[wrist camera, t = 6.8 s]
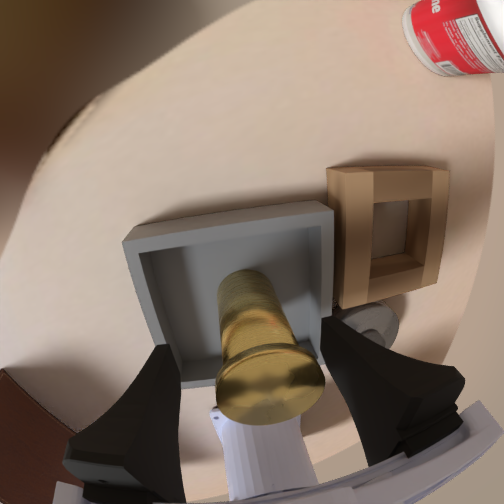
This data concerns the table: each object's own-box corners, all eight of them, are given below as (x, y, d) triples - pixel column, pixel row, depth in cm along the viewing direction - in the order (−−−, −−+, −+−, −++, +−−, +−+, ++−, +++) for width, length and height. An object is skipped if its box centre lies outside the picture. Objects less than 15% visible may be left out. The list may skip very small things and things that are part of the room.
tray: (315, 340, 20) (327, 363, 17) (176, 363, 19) (174, 389, 16) (315, 199, 16) (333, 210, 13) (134, 226, 15) (121, 242, 12)
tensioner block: (417, 269, 19) (436, 283, 17) (327, 290, 18) (342, 309, 16) (426, 165, 16) (449, 171, 14) (326, 168, 15) (345, 173, 13)
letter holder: (2, 365, 17) (-47, 468, 4) (130, 464, 25) (125, 555, 12) (-20, 384, 18) (-57, 463, 5) (87, 469, 25) (78, 543, 12)
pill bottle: (425, 0, 11) (526, -30, 1) (465, 63, 13) (571, 61, 3) (383, 16, 12) (506, -32, 1) (431, 89, 14) (563, 90, 4)
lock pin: (280, 318, 18) (319, 413, 11) (215, 327, 17) (224, 431, 10) (278, 258, 16) (331, 346, 9) (205, 267, 16) (207, 367, 8)
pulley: (381, 346, 21) (396, 366, 19) (317, 364, 21) (329, 389, 18) (392, 287, 19) (412, 305, 17) (320, 304, 19) (336, 328, 16)
